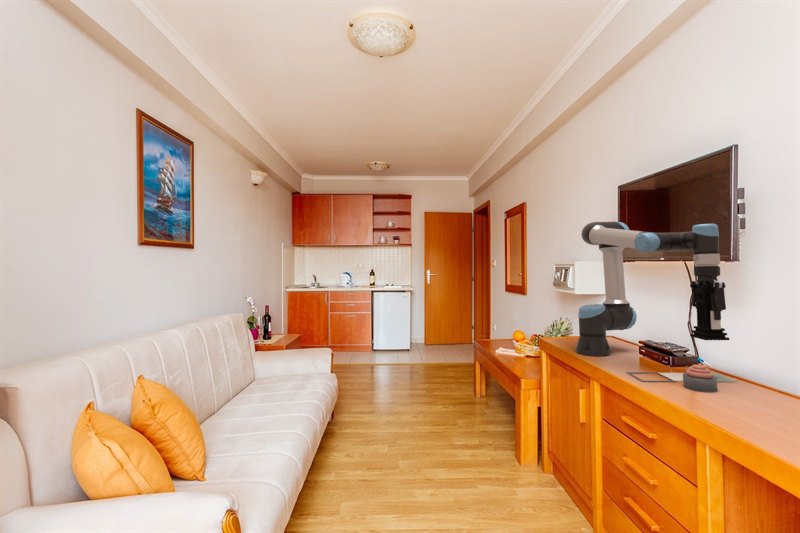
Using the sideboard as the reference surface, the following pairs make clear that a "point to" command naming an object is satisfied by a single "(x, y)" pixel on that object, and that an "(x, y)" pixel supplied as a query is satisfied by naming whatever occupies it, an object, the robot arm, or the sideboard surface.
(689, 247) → the robot arm
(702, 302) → the chess piece
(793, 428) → the sideboard surface
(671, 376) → the board
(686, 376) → the base
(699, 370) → the pink swirled mound
